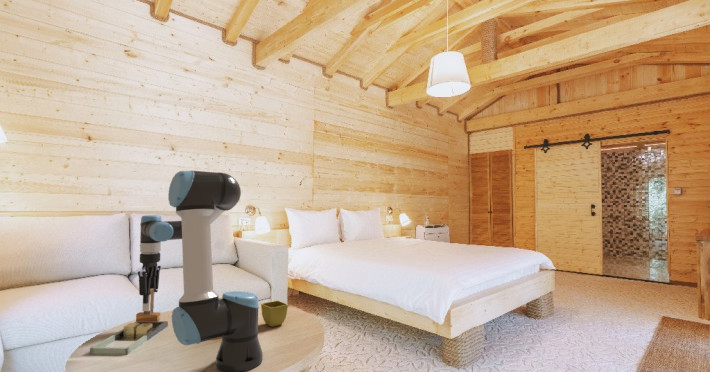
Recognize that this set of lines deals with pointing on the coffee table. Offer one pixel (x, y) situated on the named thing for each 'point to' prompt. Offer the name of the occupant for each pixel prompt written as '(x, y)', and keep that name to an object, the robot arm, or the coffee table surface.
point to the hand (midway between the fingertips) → (148, 309)
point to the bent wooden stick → (149, 312)
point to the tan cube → (130, 330)
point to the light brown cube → (143, 329)
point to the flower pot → (274, 312)
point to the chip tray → (102, 348)
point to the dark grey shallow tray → (155, 330)
